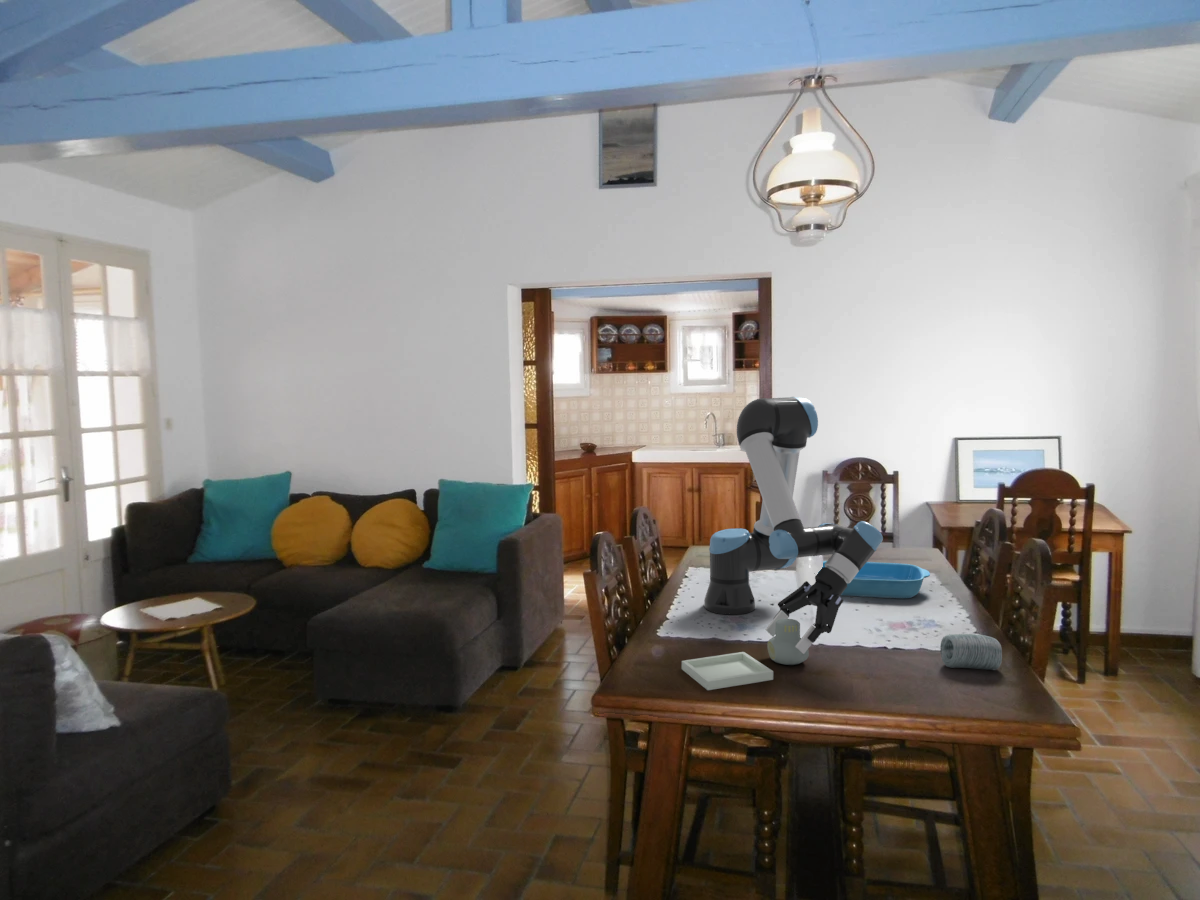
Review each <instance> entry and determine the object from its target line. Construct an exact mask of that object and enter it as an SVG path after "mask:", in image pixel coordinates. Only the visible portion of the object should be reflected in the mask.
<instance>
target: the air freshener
mask: <svg viewBox="0 0 1200 900" xmlns="http://www.w3.org/2000/svg"><path fill="white" fill-rule="evenodd" d="M801 638H802V637H801V623H800V621H798V620H796V619H792V618H788V619H779V620H777V621H776V634H775V635H774V637H773V636H772V637H771V638H770V639H769V640H768V641H767V645H766V646H767V652H768V655H769V658H770V659H771V660H772V661H773V662H775V663H777V664H780V665H787V666H794V665H795V666H796V665H799V664H801V663H803V662H805V661H806V660H807V659H809V653H810V652H809V648H808V649H807V651H806V652H805V653H804V654H803V653H801V652H800V651H799V650H798V649H797V648H796V647H795V646H796V645H797V643H798V642H799V641H800V640H801Z"/></svg>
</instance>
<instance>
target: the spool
mask: <svg viewBox="0 0 1200 900" xmlns="http://www.w3.org/2000/svg"><path fill="white" fill-rule="evenodd" d="M939 649H940V657H941V660H942V662H943V664H944V665H945V667H947V668H951V669H956V668H957V669H958V668H960V669H962V668H963V669H973V670H974V669H975V670H976V669H977V670H987V671H989V670H990V671H996V670H998V669H999V668H1000V666H1001V665H1002V661H1003V649H1002V645H1001V643H1000V642H999V641H998V640H997V638H994V637H992V636H988V635H984V634H976V633H959V634H956V633H955V634H950V633H949V634H946V635H945V636H943V637H942V639H941V642H940V647H939Z"/></svg>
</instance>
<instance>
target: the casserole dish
mask: <svg viewBox="0 0 1200 900" xmlns="http://www.w3.org/2000/svg"><path fill="white" fill-rule="evenodd" d="M822 561H823V567H825V563H826V562H827V561H828V560H822ZM930 575H931V573H930V571H929V570H928V569H925V568H922V567H920V566H918V565H915V564H909V563H901V562H900V563H897V562H874V561H867V562H866V563H865V565H864V566H863V567H862V568H861V569H860V571H859V572H858V573H857V574H856V576H855V577H854V578H853V580H852V581H851V582H850V583H847V588H846V589H845V590H844V591H843V593H842V594H841V595H840V596H844V597H845V596H849V597H862V598H864V597H865V598H868V597H869V598H881V599H882V598H883V599H911V598H913V597H915V596H916V595H918V594H919V592H920V590H921V587H922V585H923V582H924V579H926V578H929V577H930Z"/></svg>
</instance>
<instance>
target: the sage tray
mask: <svg viewBox="0 0 1200 900" xmlns="http://www.w3.org/2000/svg"><path fill="white" fill-rule="evenodd" d="M681 670H682V671H683V672H684V673H686V674H687V675H689V676H690V677H691V678H692V679H693V680H694V681H696V682H697V683H698V684H699V685H700V686H702V687H703V688H704V689H705V690H706V691H712V690H717V689H723V688H730V687H736V686H742V685H743V686H744V685H749V684H755V683H761V682H767V681H773V680H774V670H772V669H771V668H769V667H767V665H765V664H763V663H761V662H760V661H759V660H757V659H756V658H754V657H752V656H751V655H750V654H748V653H746V652H745V651H739V652H732V653H725V654H720V655H719V654H718V655H711V656H706V657H699V658H692V659H686V660H681Z"/></svg>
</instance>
